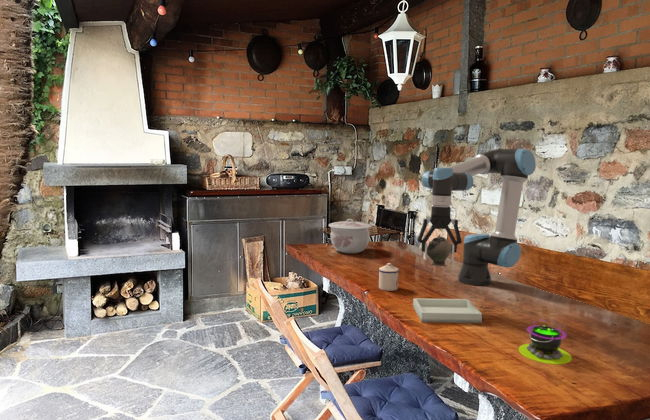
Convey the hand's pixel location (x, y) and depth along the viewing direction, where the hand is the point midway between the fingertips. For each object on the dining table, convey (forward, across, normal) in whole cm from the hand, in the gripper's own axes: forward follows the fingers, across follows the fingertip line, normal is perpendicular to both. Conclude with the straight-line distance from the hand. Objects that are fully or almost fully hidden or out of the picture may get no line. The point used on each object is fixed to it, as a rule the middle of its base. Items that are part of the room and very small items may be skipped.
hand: (438, 259), depth 191 cm
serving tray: (+18, +1, -14) cm, 23 cm away
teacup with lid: (+18, -18, +21) cm, 33 cm away
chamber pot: (+18, -34, +99) cm, 106 cm away
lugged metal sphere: (+2, 0, 0) cm, 2 cm away
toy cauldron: (+19, +24, -47) cm, 56 cm away
